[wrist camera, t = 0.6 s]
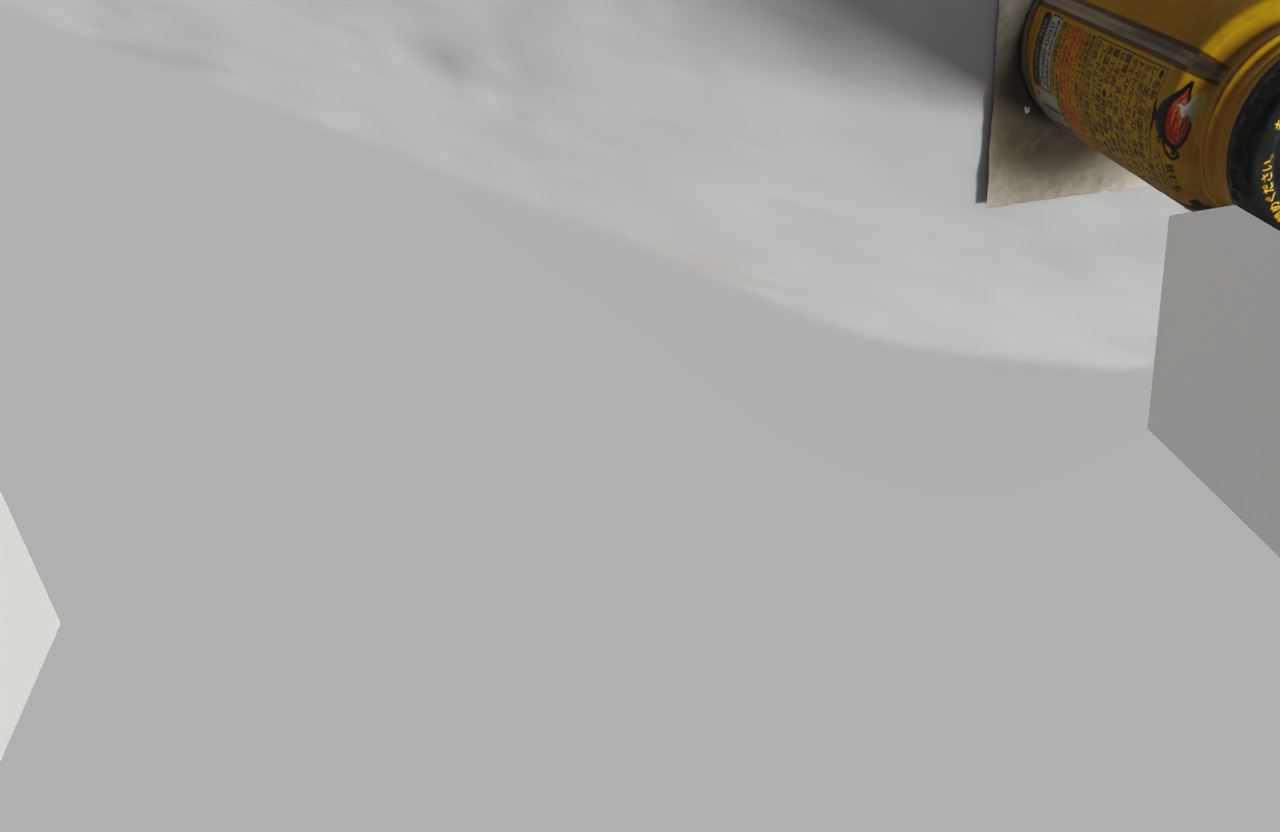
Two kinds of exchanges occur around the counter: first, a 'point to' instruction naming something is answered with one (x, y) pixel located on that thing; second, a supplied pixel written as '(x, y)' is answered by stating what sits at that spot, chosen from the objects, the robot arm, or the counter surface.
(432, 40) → the counter surface
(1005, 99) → the condiment
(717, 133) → the counter surface
